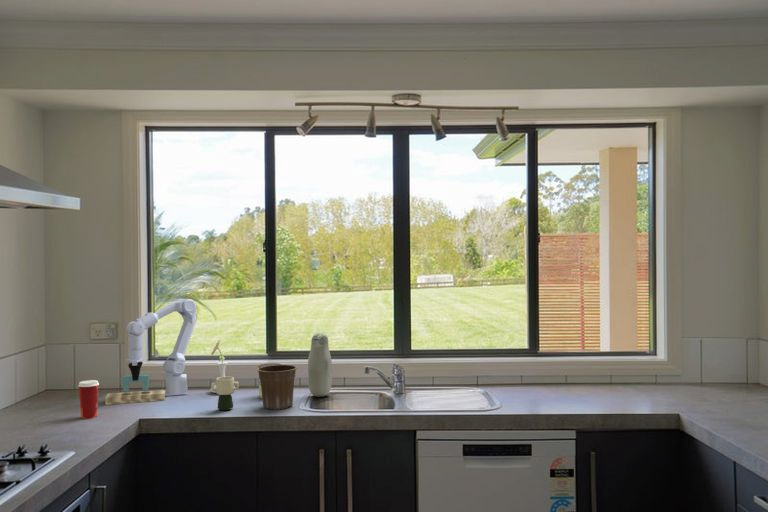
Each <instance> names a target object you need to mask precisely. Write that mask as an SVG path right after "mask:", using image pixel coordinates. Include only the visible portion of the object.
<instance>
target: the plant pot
mask: <svg viewBox="0 0 768 512" xmlns="http://www.w3.org/2000/svg"><path fill="white" fill-rule="evenodd" d="M296 370H297V366H296V365H291V364H281V365H271V366H264V367H260V368H259V367H258V368H257V369H256V371H257V372H258V373H257V374H258V380H259V379H260V382H261V390H262V398H261V399H262V405H263V408H264V409H267V410H268V409H269V410H277V411H278V410H283V409H288V408H291V407H293V405H294V388H295V377H296Z"/></svg>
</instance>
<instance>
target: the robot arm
mask: <svg viewBox="0 0 768 512" xmlns="http://www.w3.org/2000/svg"><path fill="white" fill-rule="evenodd" d="M197 308H198V305H197V304H196V302H195V300H194V299H191V298H178V299H175V300H173V301H172V302H170V303H169V304H167V305H165V306H164V307H162V308H160V309H159V310H157V311H156V312H152V311H151V312H146V313H144V315H143V316H141V317H138V318H136V319H135V321H130V322H129V323H128V324H127V326H126V327H125V331H126V333H127V334H128V339H127V340H128V343H127V344H128V358H126V359H125V361H126V362H129V363H128V364H127V365H128V368H129V370H130V372H131V373H130V375H132V379H133V381H136V380H138V379H139V375H141V374H140V373H141V368H142V366H143V363H144V362H143V360H144V358H143V334H144V332H145V330H148V329H149V328H151V327H153V326H155V325H156V324H158V322H159V320H160V319H162V318H164V317H166V316H168V315H169V314H172V313H174V312H176V313H178V314H179V315H180V317H182V319H183V322H182V325H181V327H180V331H179V333H178V336H177V338H176V341H175V345H174V347H173V350H172V352H171V353H170V354H169V355H168V357H167V359H166V360H165V361H164V363H163V364H162V368H163V371H164V372H165V397H169V396H171V397H172V396H182V395H183V396H184V395H188V393H187V391H188V384H187V383H188V381H187V380H188V379H187V375H188V374H187V373H184V371H185V367H186V366H185V363H186V358H185V354H186V351H187V348H188V345H189V342H190V339H191V337H192V334H193V331H194V328H195V325H196V324H197V323H196V322H197V320H198V319H197V317H198V316H197Z"/></svg>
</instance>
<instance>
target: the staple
mask: <svg viewBox="0 0 768 512" xmlns="http://www.w3.org/2000/svg"><path fill="white" fill-rule="evenodd" d="M149 381H150V374H139V379H138V380H136V381H133V379H132V374H129V375H122V377H121V383H122V393H124V392H130V383H141V382H142V391H149Z"/></svg>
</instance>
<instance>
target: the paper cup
mask: <svg viewBox="0 0 768 512" xmlns="http://www.w3.org/2000/svg"><path fill="white" fill-rule="evenodd" d="M99 385H100V383H99V381H98V380H97V379H96V380H95V379H89V380H82V381H79V383H78V385H77V387H78V391H79V392H78V393H79V406H80V417H81V419H82V420H90V419H94V418H97V417H98V404H99V403H98V402H99V401H98V400H99Z"/></svg>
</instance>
